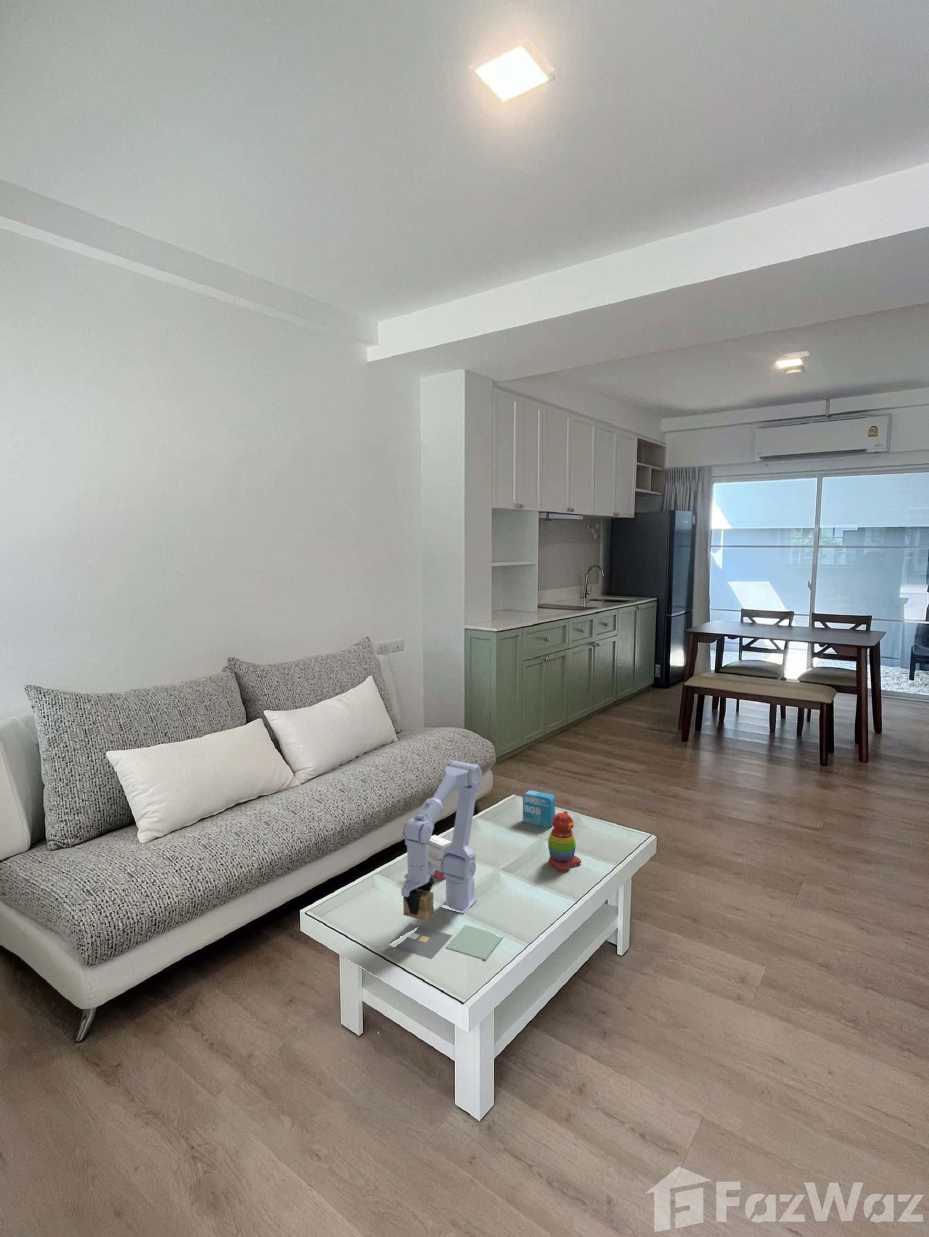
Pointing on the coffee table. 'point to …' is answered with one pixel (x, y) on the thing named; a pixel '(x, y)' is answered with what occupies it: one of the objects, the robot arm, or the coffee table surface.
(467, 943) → the mat
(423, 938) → the grey flat rectangular plate
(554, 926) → the coffee table surface
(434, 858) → the ink box
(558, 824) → the stacking bear
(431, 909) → the walnut block
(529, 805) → the data package
